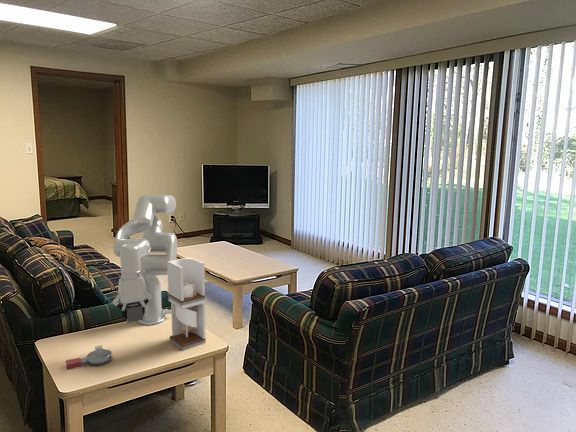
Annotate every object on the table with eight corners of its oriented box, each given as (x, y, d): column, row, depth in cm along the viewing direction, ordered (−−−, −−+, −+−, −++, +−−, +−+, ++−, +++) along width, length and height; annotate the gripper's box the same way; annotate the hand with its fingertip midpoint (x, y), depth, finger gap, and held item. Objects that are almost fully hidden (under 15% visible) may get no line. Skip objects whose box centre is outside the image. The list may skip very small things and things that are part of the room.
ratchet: (109, 353, 183) (109, 340, 182) (113, 362, 176) (113, 349, 175) (65, 362, 175) (64, 348, 174) (67, 373, 168) (66, 358, 167)
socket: (139, 314, 190) (138, 298, 188) (143, 319, 185) (142, 304, 183) (124, 317, 187) (123, 301, 186) (127, 322, 182) (126, 306, 180)
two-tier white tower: (169, 340, 195) (167, 261, 189) (191, 333, 202) (190, 257, 196) (183, 350, 187) (180, 267, 180) (205, 342, 194) (204, 263, 187)
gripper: (151, 268, 189) (152, 309, 193) (106, 275, 181) (109, 317, 185) (155, 274, 183) (157, 316, 187) (109, 281, 175) (112, 324, 178)
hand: (133, 316), depth 186 cm, fingers closed on socket, 6 cm apart
